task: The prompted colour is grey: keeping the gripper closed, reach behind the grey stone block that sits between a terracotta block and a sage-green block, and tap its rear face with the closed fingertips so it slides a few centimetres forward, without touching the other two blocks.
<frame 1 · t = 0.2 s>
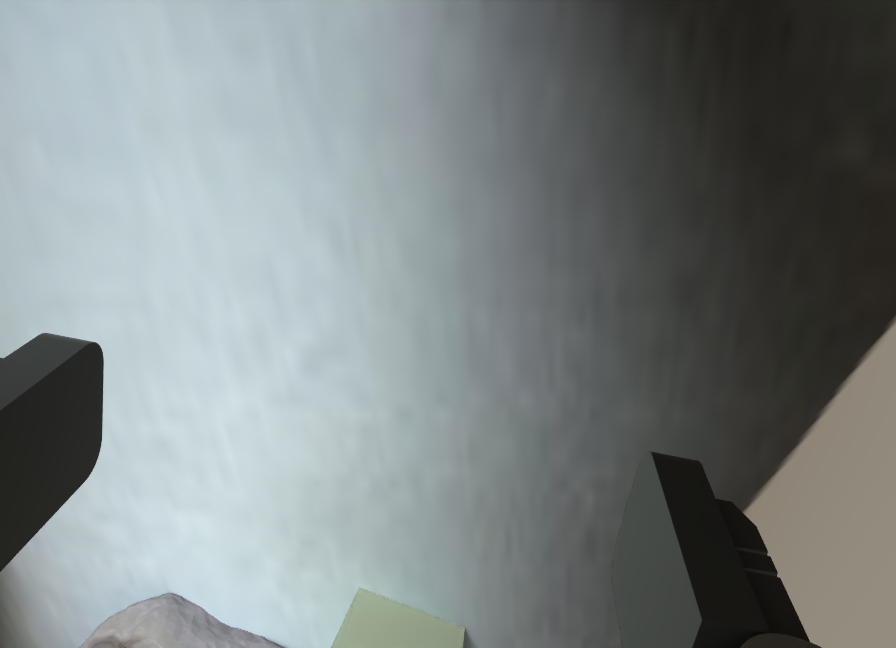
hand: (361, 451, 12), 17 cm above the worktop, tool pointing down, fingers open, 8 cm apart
sage block: (392, 645, 37), on the worktop
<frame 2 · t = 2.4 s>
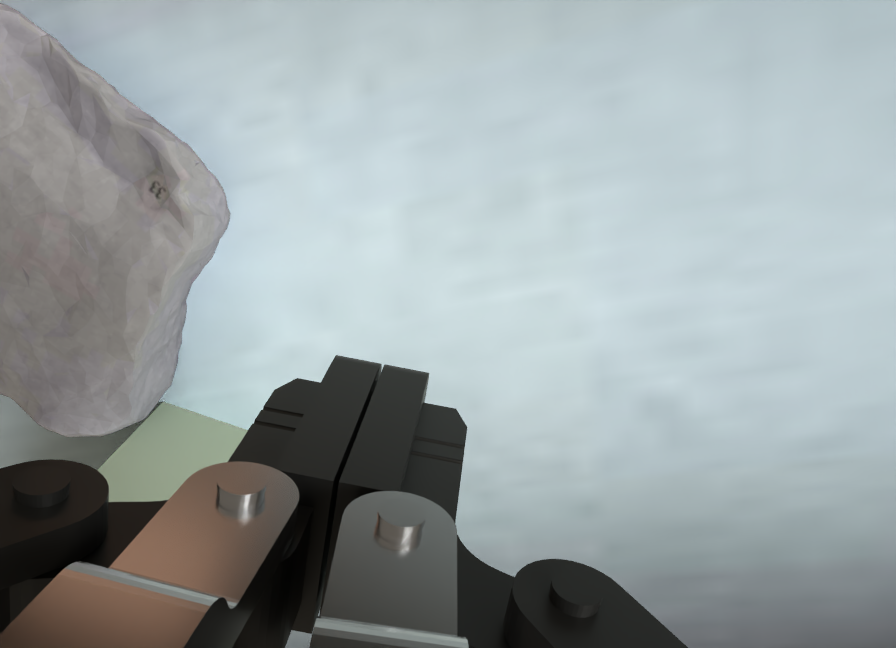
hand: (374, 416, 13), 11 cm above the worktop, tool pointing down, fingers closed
stone block: (42, 185, 24), on the worktop
sage block: (222, 489, 27), on the worktop
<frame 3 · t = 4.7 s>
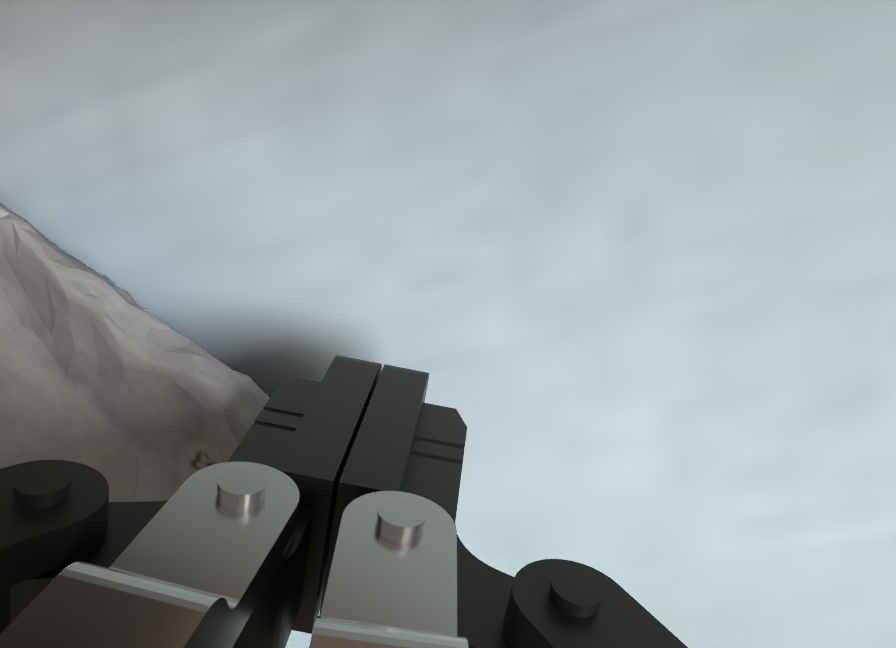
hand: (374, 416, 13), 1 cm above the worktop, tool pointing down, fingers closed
stone block: (14, 408, 16), on the worktop
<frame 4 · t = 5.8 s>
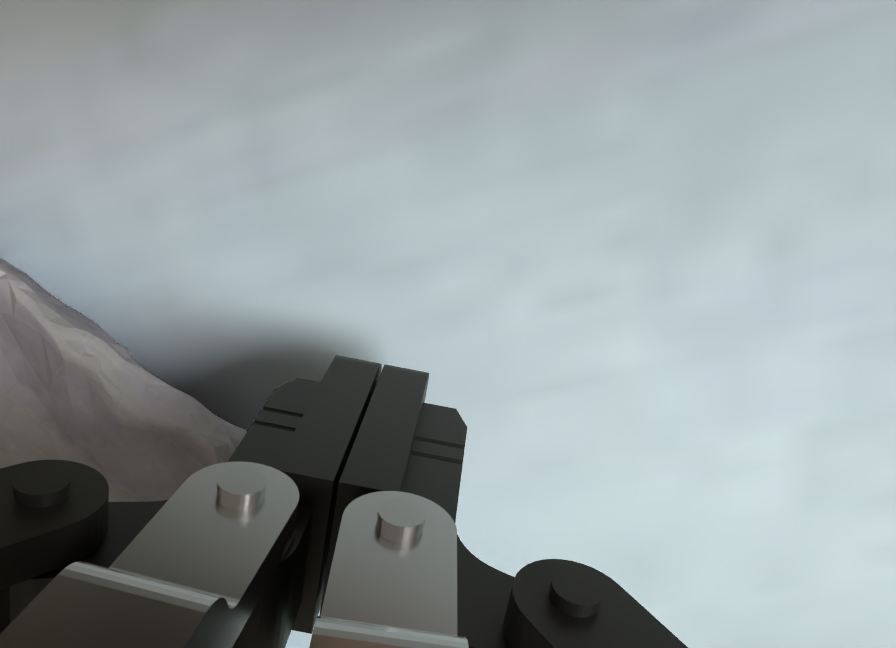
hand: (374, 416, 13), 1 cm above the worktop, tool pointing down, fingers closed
stone block: (15, 453, 16), on the worktop
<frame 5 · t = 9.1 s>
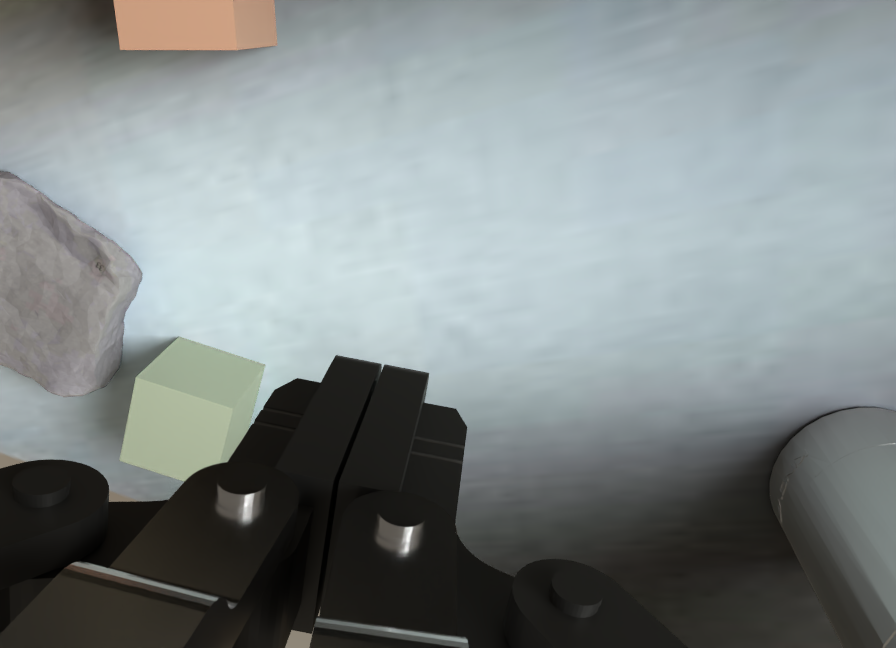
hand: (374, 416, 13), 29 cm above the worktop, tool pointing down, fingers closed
stone block: (41, 263, 45), on the worktop
sage block: (213, 388, 46), on the worktop
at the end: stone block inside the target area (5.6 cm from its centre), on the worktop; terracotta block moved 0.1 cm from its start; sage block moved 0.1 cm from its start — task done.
